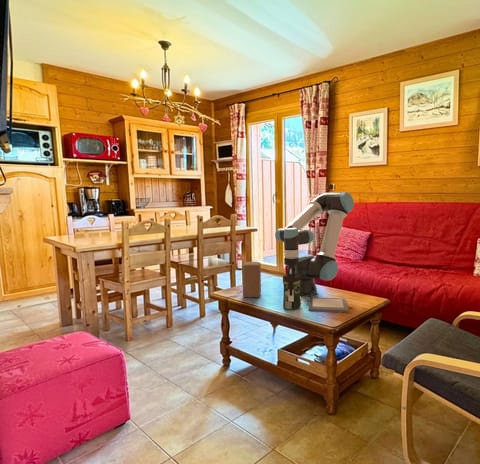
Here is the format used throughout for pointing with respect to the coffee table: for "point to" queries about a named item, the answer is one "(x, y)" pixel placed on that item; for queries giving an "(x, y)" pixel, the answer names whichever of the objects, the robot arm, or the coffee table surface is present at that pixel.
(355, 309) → the coffee table surface
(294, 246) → the robot arm
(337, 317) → the coffee table surface
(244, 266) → the wooden block
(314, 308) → the grey square frame
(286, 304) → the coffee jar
